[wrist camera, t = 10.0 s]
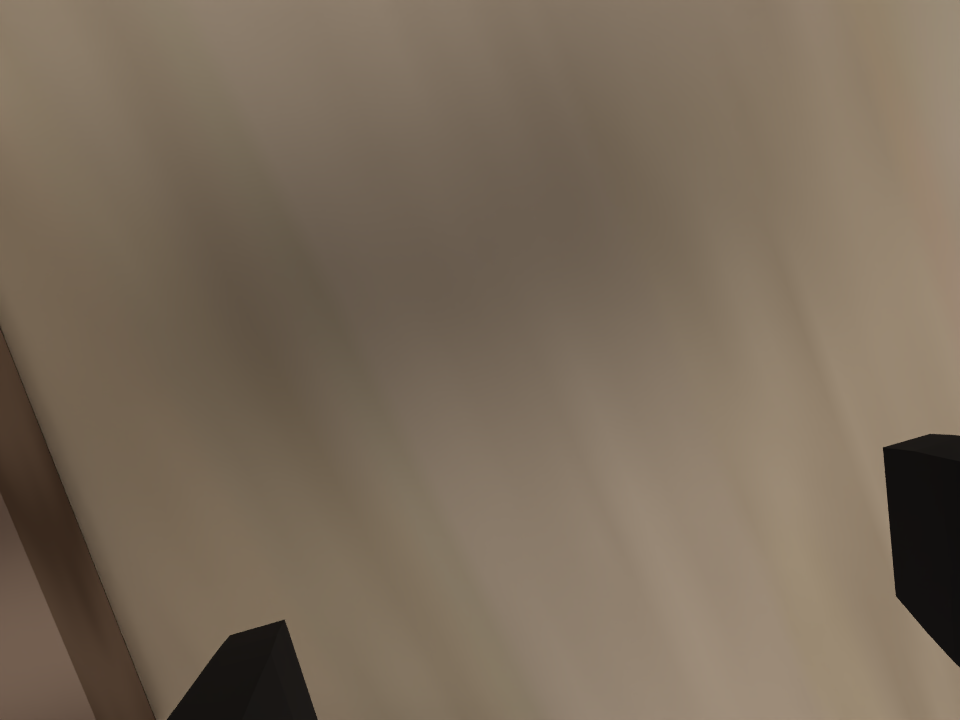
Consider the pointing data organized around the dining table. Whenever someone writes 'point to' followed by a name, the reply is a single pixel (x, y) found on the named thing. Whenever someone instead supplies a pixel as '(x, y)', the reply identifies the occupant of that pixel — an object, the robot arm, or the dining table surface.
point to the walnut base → (51, 589)
